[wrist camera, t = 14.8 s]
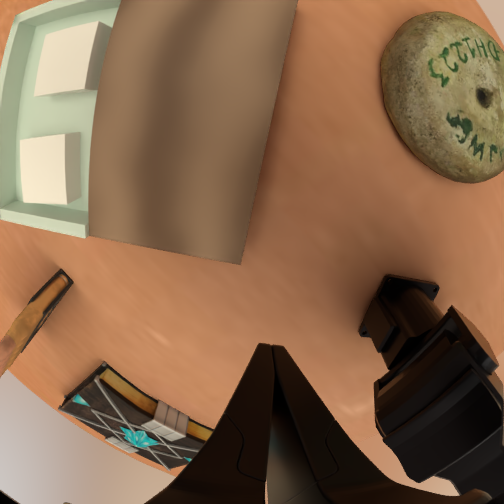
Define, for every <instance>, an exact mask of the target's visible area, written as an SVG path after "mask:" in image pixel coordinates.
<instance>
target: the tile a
mask: <svg viewBox="0 0 504 504" xmlns="http://www.w3.org/2000/svg"><path fill="white" fill-rule="evenodd" d="M20 168H21V183H22V194H23V203H45V204H65V205H67V204H69V203H71V202H73V201H75V200H76V199H78V198H80V197H81V180H80V132H71V133H62V134H53V135H45V136H38V137H32V138H28V139H23V140H20Z"/></svg>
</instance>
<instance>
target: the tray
mask: <svg viewBox="0 0 504 504" xmlns="http://www.w3.org/2000/svg"><path fill="white" fill-rule="evenodd" d="M120 2H121V0H53V1H50V2H47V3H44V4H41V5H39V6H36V7H34V8H31V9H29V10H26V11H24V12H22V13H19V14H17V15H16V16H15V19H14V21H13V24H12V27H11V31H10V34H9V37H8V41H7V44H6V48H5V52H4V56H3V60H2V65H1V69H0V220H4V221H9V222H13V223H17V224H22V225H26V226H31V227H35V228H40V229H44V230H49V231H53V232H58V233H62V234H67V235H71V236H76V237H81V238H87V237H88V236H89V221H88V183H89V161H90V147H91V136H92V126H93V118H94V111H95V104H96V97H97V91H90V92H80V93H71V94H63V95H56V96H50V97H34V91H35V84H36V78H37V72H38V66H39V61H40V57H41V52H42V48H43V43H44V39H45V36H46V34H49V33H53V32H56V31H59V30H63V29H66V28H70V27H74V26H78V25H82V24H86V23H91V22H96V21H100V22H102V23H104V24H106V25H108V26H110V27H111V28H112V27H113V24H114V20H115V17H116V14H117V11H118V8H119V5H120ZM71 132H80V180H81V197H80V198H78V199H76V200H75V201H73V202H71V203H69V204H67V205H65V204H45V203H23V194H22V183H21V168H20V140H23V139H28V138H32V137H38V136H45V135H53V134H62V133H71Z"/></svg>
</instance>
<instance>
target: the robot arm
mask: <svg viewBox="0 0 504 504" xmlns="http://www.w3.org/2000/svg"><path fill="white" fill-rule="evenodd" d="M390 279H391V280H390ZM388 280H390V281H389V282H387V281H388ZM434 288H435V289H434ZM438 291H439V286H438V285H437V284H436V283H432V282H427V281H422V280H417V279H412V278H406V277H401V276H396V275H391V274H388V275H386V276H385V277H384V278H383V280H382V283H381V285H380V287H379V289H378V292H377V294H376V296H375V297H374V299H373V301H372V303H371V305H370V307H369V309H368V311H367V313H366V315H365V317H364V319H363V323H362V324H361V326H360V328H359V331H358V332H359V335H360V336H361V337H370V338H371V339H372V341H373V343H374V346H375V348H376V350H377V352H378V353H381V354H382V357H383V359H384V361H385V364H386V366H387V368H388V370H390V371H389V372H387V373H386V374H385V375H384V376H383V377H382V378H380V379H378V380H377V381H375V382H374V404H375V423H376V428H377V429H378V431H379V433H380V435H381V436H382V437H383V442H384V443H385V444H386V445H387V446H388V447H389V448H390V449H392V451H393V452H394V454H395V455H396V456H397V457H398V459H399V461H400V463H401V464H402V466H403V469H404V471H405V472H406V475H407V476H408V477H409V478H410V479H412V480H414V481H415V482H417V483H421V482H423V481H425V480H427V479H429V478H430V477H432V476H435V477H439V478H442V479H446V480H449V481H450V482H451V483H452V484H453V485H454V487H455V489H456V490H457V492H458V493H459V495H460V496H445V495H440V494H435V493H431V492H427V491H423V490H419V489H416V488H412V487H409V486H405V485H401V484H399V483H396V482H394V481H393V480H391V479H389V478H388V477H387V476H385V475H384V474H383V473H382V472H381V471H380V470H379V469H378V468H377V467H376V466H375V465H374V464H373V463H372V462H371V461H370V460H369V459H368V458H367V456H365V455H364V453H363V452H361V450H360V449H359V448H358V447H357V446H356V445H355V444H354V442H353V441H352V440H351V439H350V438H349V436H348V435H347V434H346V433H345V431H344V430H343V429H342V427H341V426H340V425H339V423H338V422H337V421H336V420H335V418H334V417H333V415H332V414H331V413H330V411H329V410H328V408H327V407H326V406H325V404H324V403H323V401H322V400H321V399H320V397H319V396H318V394H317V393H316V392H315V390H314V389H313V387H312V386H311V385H310V383H309V382H308V380H307V379H306V377H305V376H304V375H303V373H302V372H301V370H300V369H299V367H298V366H297V365H296V363H295V362H294V360H293V359H292V357H291V356H290V354H289V353H288V352H287V350H286V349H285V347H284V346H281V345H270V344H266V343H259V344H258V345H257V347H256V349H255V351H254V353H253V355H252V358H251V360H250V362H249V364H248V366H247V368H246V370H245V372H244V374H243V376H242V378H241V380H240V382H239V384H238V386H237V388H236V390H235V391H234V393H233V395H232V397H231V399H230V401H229V403H228V405H227V407H226V409H225V411H224V413H223V414H222V416H221V418H220V420H219V422H218V424H217V425H216V427H215V429H214V430H213V432H212V434H211V435H210V437H209V438H208V439H207V441H206V442H205V443H204V445H203V446H202V447H201V449H200V450H199V451H198V452H197V454H196V455H195V456H194V457H193V458H192V460H191V461H190V462H189V463H188V464H187V466H186V467H185V468H184V469H183V470H182V472H181V473H180V474H179V475H178V476H177V477H176V478H175V479H174V480H173V481H172V482H171V483H170V484H169V485H168V486H167V487H166V488H165V489H163V490H162V491H161V492H159V493H158V494H157V495H155V496H154V497H153V498H151V499H150V500H149V501H147V502H146V503H144V504H265V482H266V478H267V492H268V504H504V393H503V384H502V382H501V380H500V379H499V377H498V376H497V374H496V373H495V369H496V368H497V367H498V366H499V363H498V361H497V359H496V357H495V355H494V353H493V351H492V349H491V347H490V345H489V343H488V341H487V340H486V339H485V337H484V336H483V335H482V334H481V333H480V331H479V330H478V329H477V328H476V326H475V325H474V324H473V323H472V322H471V321H469V320H468V319H467V318H466V317H465V316H464V315H463V314H462V313H460V312H459V311H458V310H457V309H456V308H455V307H454V306H452V305H451V307H450V308H449V309H448V310H447V311H448V312H447V313H446V314H445V315H443V314H442V313H441V311H440V310H439V309H438V307H437V306H436V305H435V304H434V302H433V301H434V299H435V297H436V295H437V293H438ZM363 331H365V332H363ZM334 420H335V421H334ZM0 504H20V503H18V502H17V501H15V500H14V499H12V498H11V497H10V496H8V495H7V494H5V493H4V492H3V491H1V490H0ZM64 504H70V503H64Z"/></svg>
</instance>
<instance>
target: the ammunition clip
mask: <svg viewBox="0 0 504 504" xmlns="http://www.w3.org/2000/svg"><path fill="white" fill-rule="evenodd" d="M72 284H73V282H72V280H71V279H70V278H69V277H68V276H67V275H66V274H65V273H64V272H63V271H62V270H61V269H60V270H59V271H58V272H57V273H56V274H55V275H54V276H53V277H52V278H51V279H50V280H49V281H48V282H47V283H46V284H45V285H44V286H43V287H42V288H41V289H40V290H39V291H38V292H37V293H36V294H35V295H34V296H33V297H32V298H31V299H30V301H29V303H28V305H27V307H26V308H25V309H24V310H23V311H22V312H21V313H20V314H19V316H18V317H17V318H16V319H15V320H14V322H13V324H12V326H11V327H10V329H9V330H8V332H7V333H6V335H5V336H4V338H3V339H2V340H1V342H0V377H1V376H2V375H3V374H4V372H5V371H6V370H7V369H8V368H9V367H10V366H11V365H12V364H13V362H14V361H15V359H16V358H17V357H18V355H19V354H20V352H21V353H22V352H23V350H24V349H25V348H26V346H27V345H28V344H29V342H30V341H31V340H32V338H33V337H34V336H35V334H36V333H37V332H38V331H39V329H40V328H41V327H42V325H43V324H44V322H45V321H46V320H47V318H48V317H49V315H50V314H51V312H52V311H53V310H54V308H55V307H56V305H57V304H58V303H59V301H60V300H61V299H62V297H63V296H64V295H65V293H66V292H67V291H68V289H69V288H70V287H71V285H72Z"/></svg>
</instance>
